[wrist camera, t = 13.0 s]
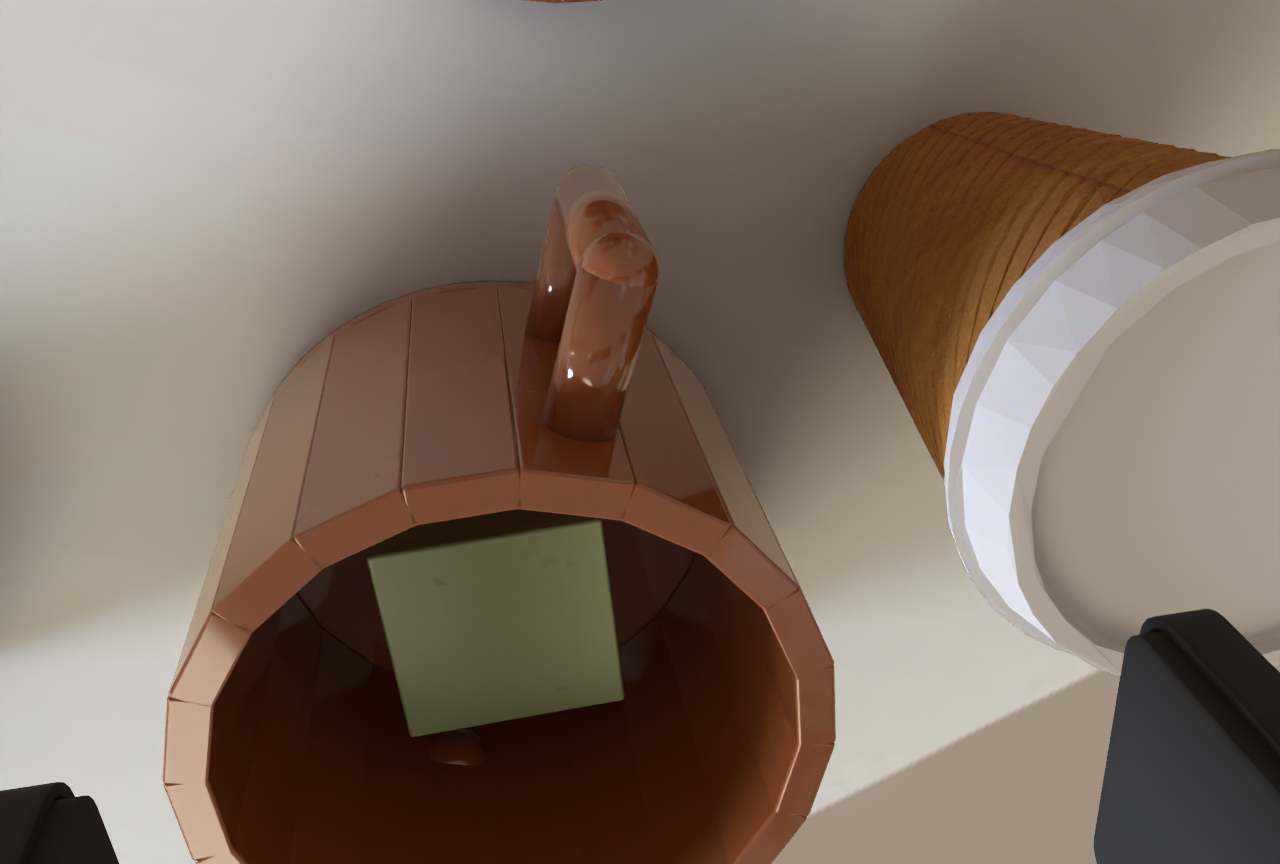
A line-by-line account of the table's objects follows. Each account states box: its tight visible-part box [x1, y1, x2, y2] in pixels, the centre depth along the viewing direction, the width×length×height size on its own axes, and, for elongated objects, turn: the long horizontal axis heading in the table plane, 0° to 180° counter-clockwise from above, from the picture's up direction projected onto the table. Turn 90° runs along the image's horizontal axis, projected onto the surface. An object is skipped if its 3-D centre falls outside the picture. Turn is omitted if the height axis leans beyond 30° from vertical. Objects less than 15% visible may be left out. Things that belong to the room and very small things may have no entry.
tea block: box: [366, 509, 625, 737], centre depth 28 cm, size 5×5×5 cm
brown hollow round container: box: [163, 281, 836, 864], centre depth 26 cm, size 13×13×10 cm
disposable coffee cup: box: [844, 112, 1280, 676], centre depth 24 cm, size 10×10×12 cm
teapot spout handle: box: [427, 164, 659, 771], centre depth 26 cm, size 21×2×6 cm, turn 166°
